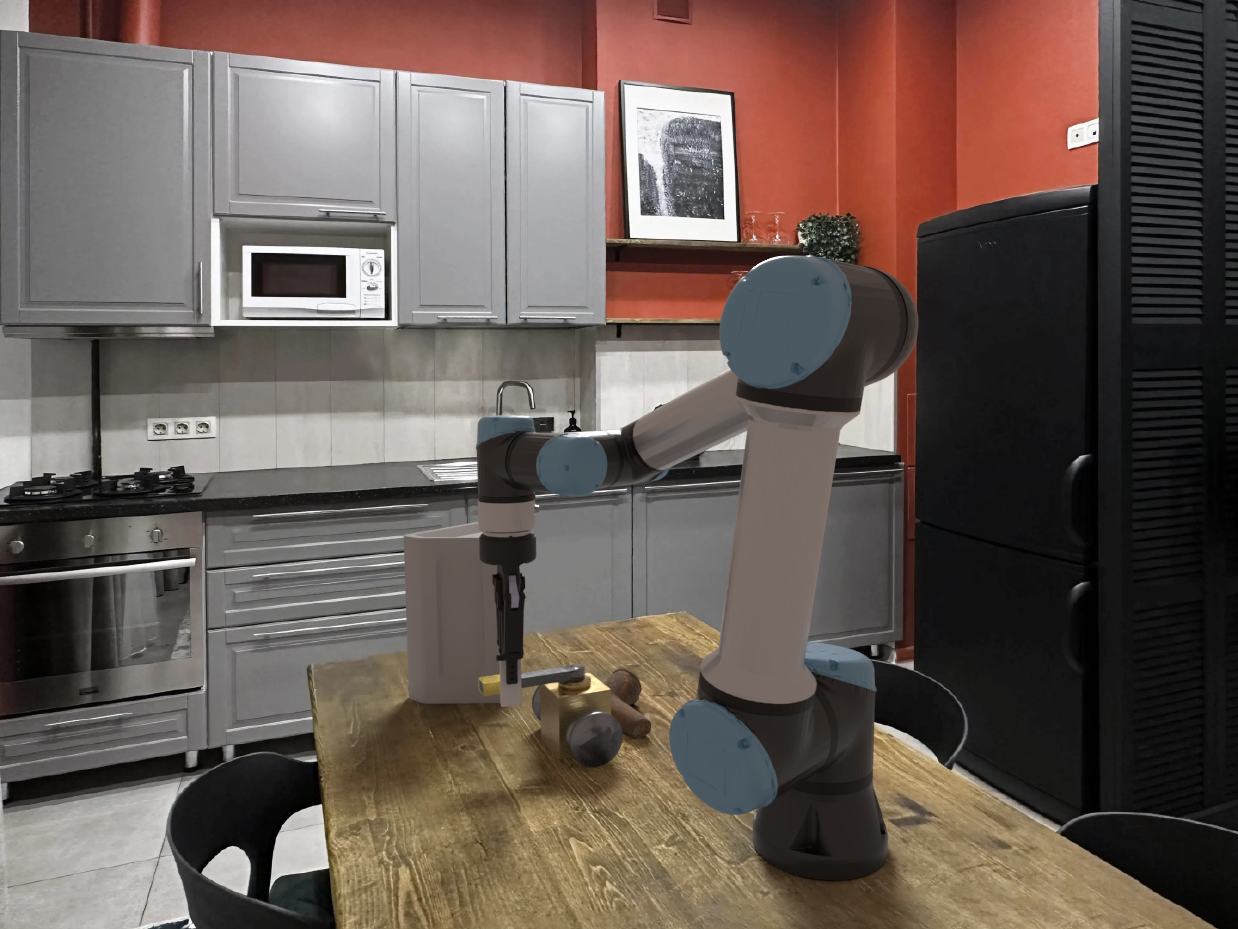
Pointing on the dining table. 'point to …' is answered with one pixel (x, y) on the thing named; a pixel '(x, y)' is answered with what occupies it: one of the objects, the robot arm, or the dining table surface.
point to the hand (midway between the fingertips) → (511, 704)
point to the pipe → (627, 702)
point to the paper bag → (449, 616)
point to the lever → (535, 678)
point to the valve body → (578, 720)
